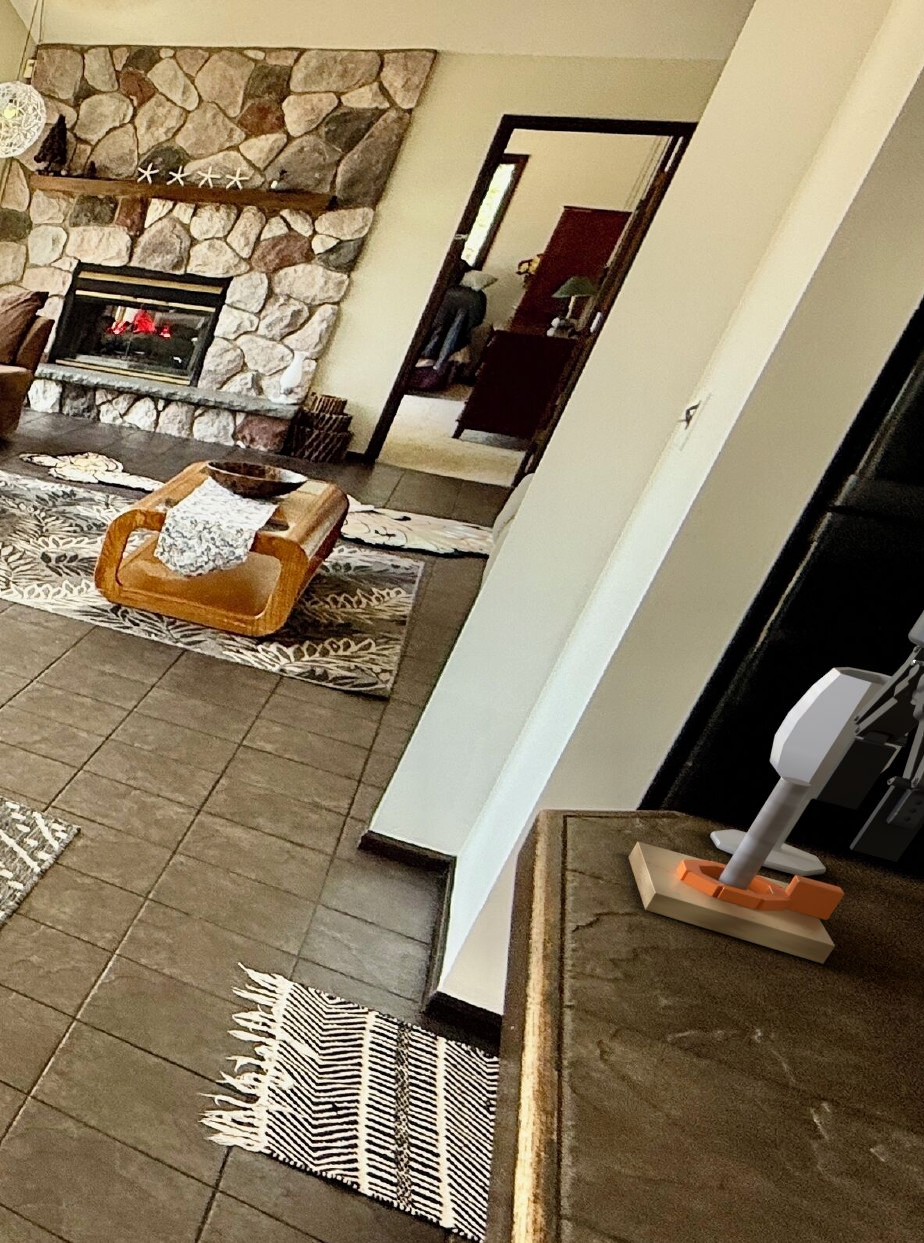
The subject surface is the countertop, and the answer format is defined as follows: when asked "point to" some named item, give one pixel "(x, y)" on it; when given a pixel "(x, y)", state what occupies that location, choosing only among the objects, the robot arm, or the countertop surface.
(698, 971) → the countertop surface
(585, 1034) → the countertop surface
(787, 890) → the ring
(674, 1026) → the countertop surface
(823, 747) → the wineglass
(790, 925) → the board
